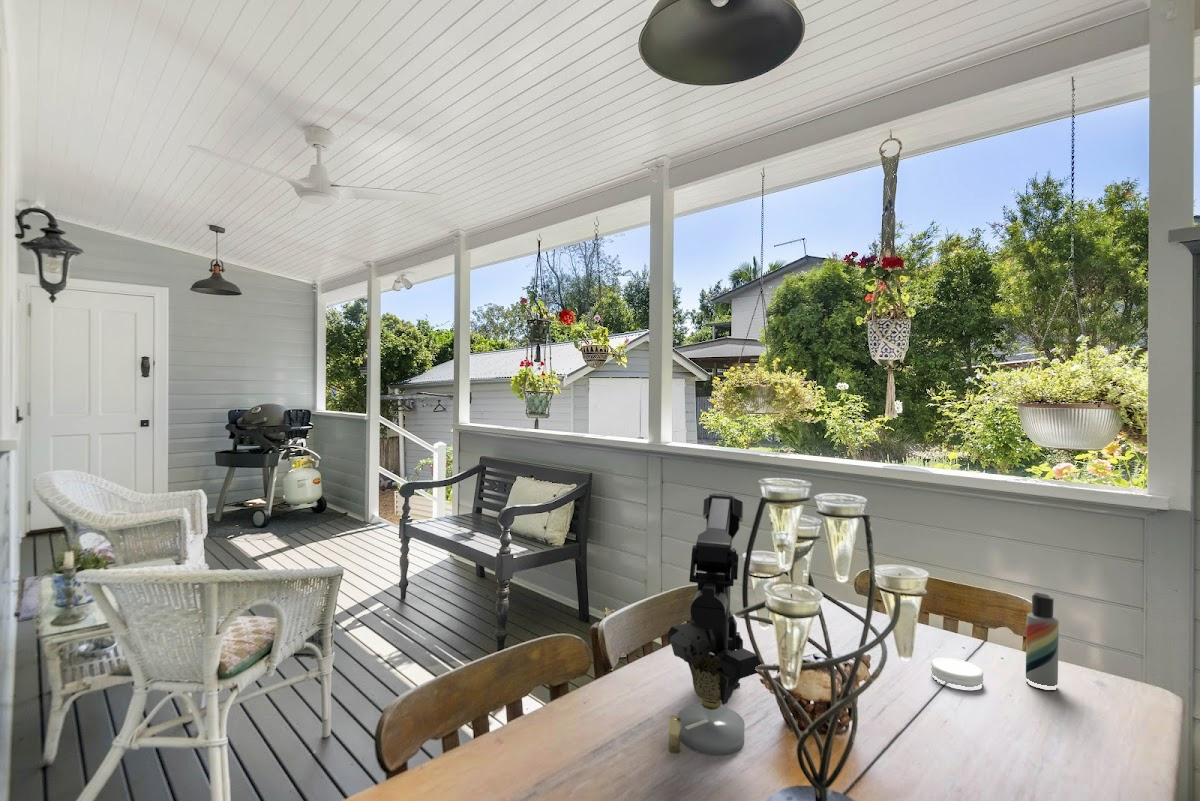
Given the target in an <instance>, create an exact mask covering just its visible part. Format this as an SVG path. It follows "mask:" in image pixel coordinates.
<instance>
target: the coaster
mask: <svg viewBox="0 0 1200 801" xmlns="http://www.w3.org/2000/svg"><path fill="white" fill-rule="evenodd" d="M930 663H931V664H930V665H931V667H930V670H931V672H932V674H933V675H934V676H936V677H937V678H938V679H940V680H942V681H945V682H947V683H951V684H955V685H961V686H965V687H974V686H978V685H980V684H982V683H983V684H984V672H983V671H982V669H981V668H980V667H979V666H977V665H975V663H971V662H968V661H966V660H962V659H957V658H954V657H936V658H934V659H933V660H932V661H931V662H930Z"/></svg>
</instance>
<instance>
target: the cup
mask: <svg viewBox="0 0 1200 801" xmlns="http://www.w3.org/2000/svg"><path fill="white" fill-rule="evenodd" d="M721 660H722V659H721V658H719V659H718V657H717V656H714V657H713V658H712V659H711V655H710V654H709V655H708V656H707V658H705V656H704V657H703V658H702V659H700V658H696V660H694V662H691V666H692V674H691V676H692V678H691V679H692V684H693V689H694V692H695V693H696V695H697V696H698V697H699V698H700V703H701V704H702V706H703V707H704V708H706V709H709V710H716V709H718V708H719V707H720V706H722V702H721V682H720V675H719V674H718V673H717V672H716V671H715V669H718V668H721Z"/></svg>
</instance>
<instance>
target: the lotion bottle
mask: <svg viewBox="0 0 1200 801" xmlns="http://www.w3.org/2000/svg"><path fill="white" fill-rule="evenodd" d="M1031 600H1032V601H1031V606H1032V607H1031V612H1028V613H1027V614H1026V623H1025V624H1026V628H1025V629H1026V632H1025V635H1026V636H1025V638H1026V639H1025V679H1026V678H1027V679H1029V680H1030V681H1032V682H1034V683H1037V684H1041V685H1047V686H1055V685H1057V684H1058V683H1059V634H1060V633H1059V631H1060V630H1059V629H1060V627H1059V625H1060V623H1059V622H1060V621H1059V618H1057V617H1055V616H1054V603H1055V602H1054V598H1053V597H1052V596H1051V595H1049V594H1045V593H1040V592H1034V593H1033V594H1032V595H1031ZM1058 685H1059V684H1058Z"/></svg>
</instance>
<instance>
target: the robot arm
mask: <svg viewBox="0 0 1200 801" xmlns="http://www.w3.org/2000/svg"><path fill="white" fill-rule="evenodd" d="M702 517H703V519H704V520H706V528H705V531H703V532H701V533H699V534H698V535H697V539H696V543H695V544H693V545H692V548H691V549H692V550H691V560H690V567H689V568H690V571H689V583H697V584H696V585H697V586H696V587H697V588H696V592H695V594H694V598H693V600H692V603H691V605H690V622H685V623H681V624H677V625H673V626H671V627H670V628H669V630H668V631H667V643H669V644H670V645H671V649H672V651H673V655H674V657H678V658H680V660H681V659H682V660H683V661H684V662H686V663H687V664H688V666H689V670H690V673H691V675H692V666H691V662H694V660H696V658H700V659H702V658H703V657H704V656H705V658H707V656H708V655H709V654H710V655H711V659H712V658H713V657H714V656H717V657H718V659H719V658H721V659H722V660H721V668H718V669H715V671H716V672H717V673H718V674H719V675H720V682H721V705H726V704H728V702H729V701H730V699H731V696H732V695H733V693H734V690H735V689H736V688H740V687H741V683H740V680H741V679H745V678H747V677H750V676H753V675H756V674H759V673H760V672H757V671H756V670H755V667H756V666H758V665H760V664H761V665H762V659H761V660H759V658H758V656H759V655H758V654H756V653H754V652H752V651H750V650H747V648H744V639H743V638H742V637H741V633H740V632H738V623H737V621H736V618H735V617H734V614H733V613H732V610H731V590H732V589H731V588H732V587H734V585H735V581H738V576H739V558H740V557H739V554H738V552H737V550H736V548H734V547H733V540H734V538H735V537H736V536H737V534H738V532H739V531H740V528H741V523H743V522H744V519H743V518H744V502H743V501H742V500H740V499H738V498H735V496H734V495H732V494H729V493H716V492H715V493H711V494H710V493H709V497H706V498H704V499H703V512H702ZM696 571H697V572H696ZM757 655H758V656H757ZM760 661H761V662H760Z"/></svg>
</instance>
